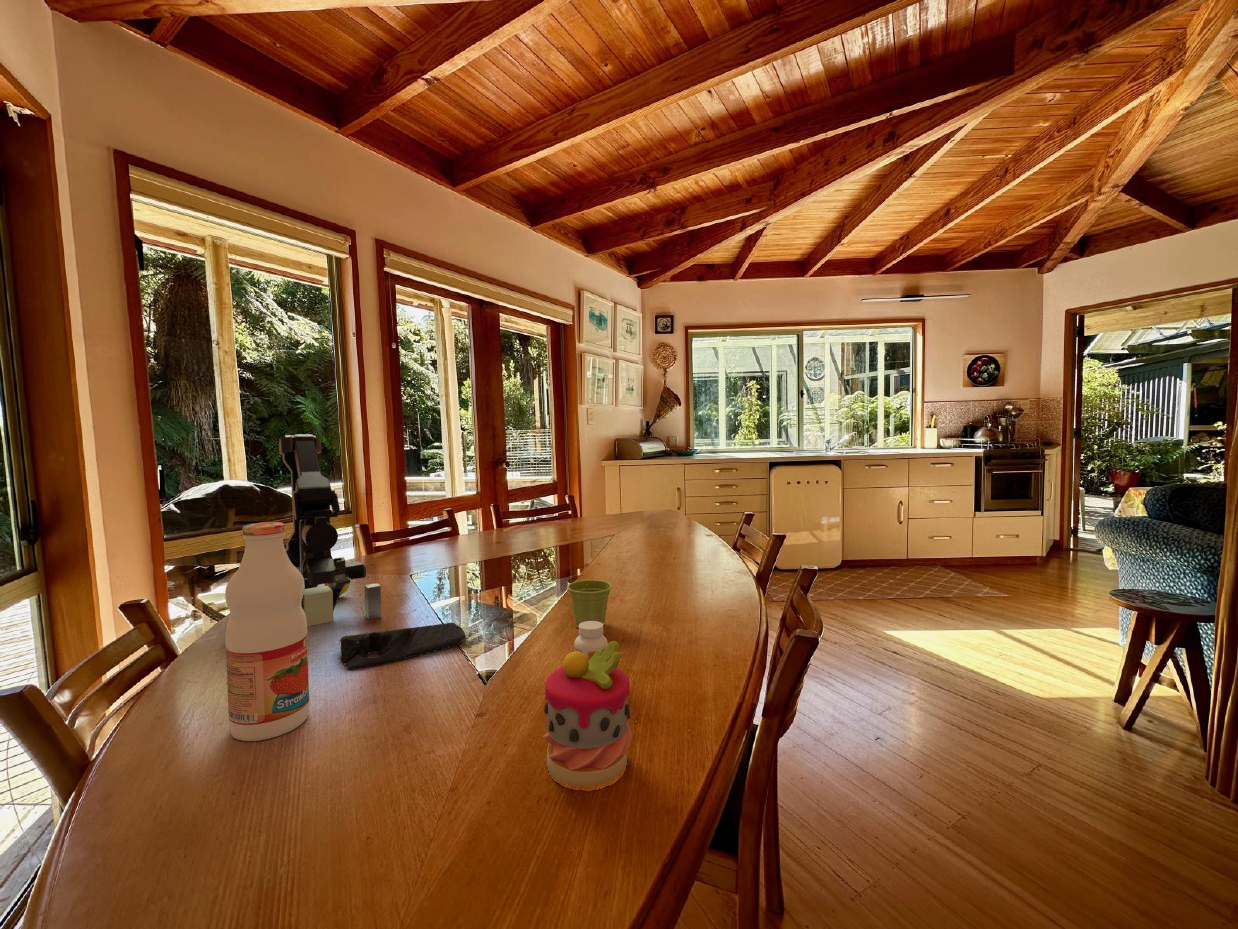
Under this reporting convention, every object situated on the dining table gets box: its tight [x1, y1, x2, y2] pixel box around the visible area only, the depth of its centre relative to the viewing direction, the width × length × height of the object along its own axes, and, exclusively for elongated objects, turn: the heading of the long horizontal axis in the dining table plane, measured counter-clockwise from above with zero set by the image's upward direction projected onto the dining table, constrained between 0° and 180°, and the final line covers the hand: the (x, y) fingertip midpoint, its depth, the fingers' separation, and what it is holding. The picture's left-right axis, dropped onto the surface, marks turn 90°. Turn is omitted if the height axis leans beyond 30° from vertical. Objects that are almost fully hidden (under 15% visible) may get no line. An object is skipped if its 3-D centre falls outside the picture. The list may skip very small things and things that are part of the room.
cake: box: [541, 640, 633, 787], centre depth 65 cm, size 10×11×15 cm
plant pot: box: [567, 579, 613, 626], centre depth 113 cm, size 9×9×9 cm
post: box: [364, 582, 382, 621], centre depth 118 cm, size 3×3×7 cm
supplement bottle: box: [573, 621, 609, 661], centre depth 87 cm, size 5×5×10 cm
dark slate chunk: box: [339, 622, 467, 671], centre depth 102 cm, size 15×22×5 cm
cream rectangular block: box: [302, 585, 334, 627], centre depth 115 cm, size 5×5×7 cm
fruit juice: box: [224, 521, 310, 742], centre depth 74 cm, size 9×9×28 cm
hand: (317, 615), depth 115 cm, fingers closed on cream rectangular block, 5 cm apart
